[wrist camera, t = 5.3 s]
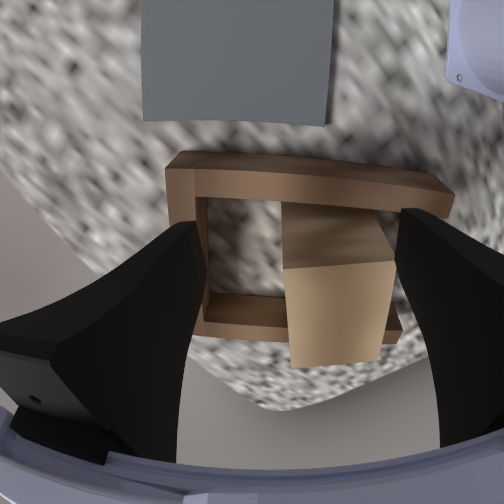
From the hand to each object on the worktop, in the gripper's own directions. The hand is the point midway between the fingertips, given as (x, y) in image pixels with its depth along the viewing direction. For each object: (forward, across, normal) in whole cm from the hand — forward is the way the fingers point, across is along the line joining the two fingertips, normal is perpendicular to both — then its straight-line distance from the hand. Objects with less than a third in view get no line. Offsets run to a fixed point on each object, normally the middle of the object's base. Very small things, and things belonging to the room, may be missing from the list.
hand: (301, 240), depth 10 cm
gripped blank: (+9, -2, +6) cm, 11 cm away
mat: (+9, +2, -8) cm, 12 cm away
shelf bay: (+9, -1, +6) cm, 11 cm away
